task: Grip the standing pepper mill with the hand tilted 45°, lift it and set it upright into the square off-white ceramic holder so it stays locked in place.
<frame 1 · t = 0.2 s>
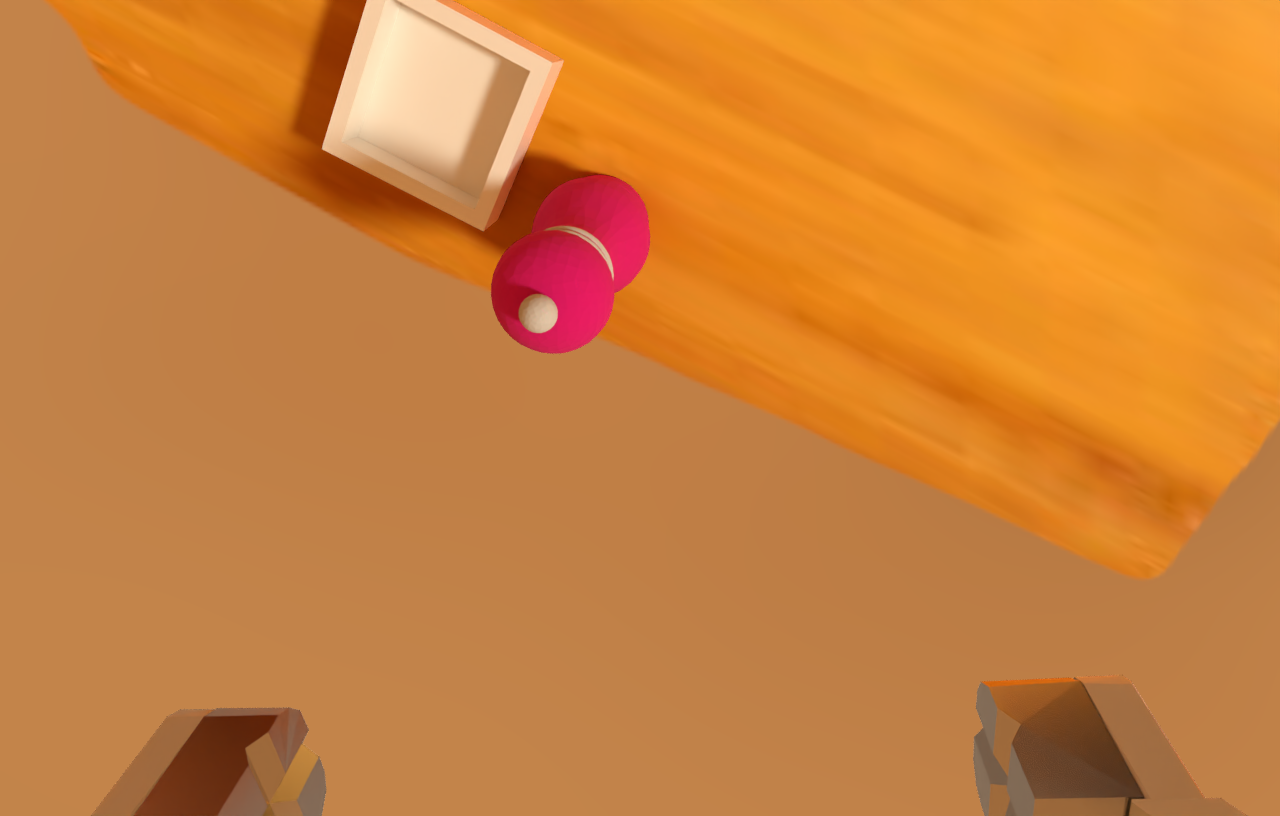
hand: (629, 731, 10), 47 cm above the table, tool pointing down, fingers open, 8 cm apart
pepper mill: (602, 222, 56), on the table
mill holder: (451, 102, 53), on the table
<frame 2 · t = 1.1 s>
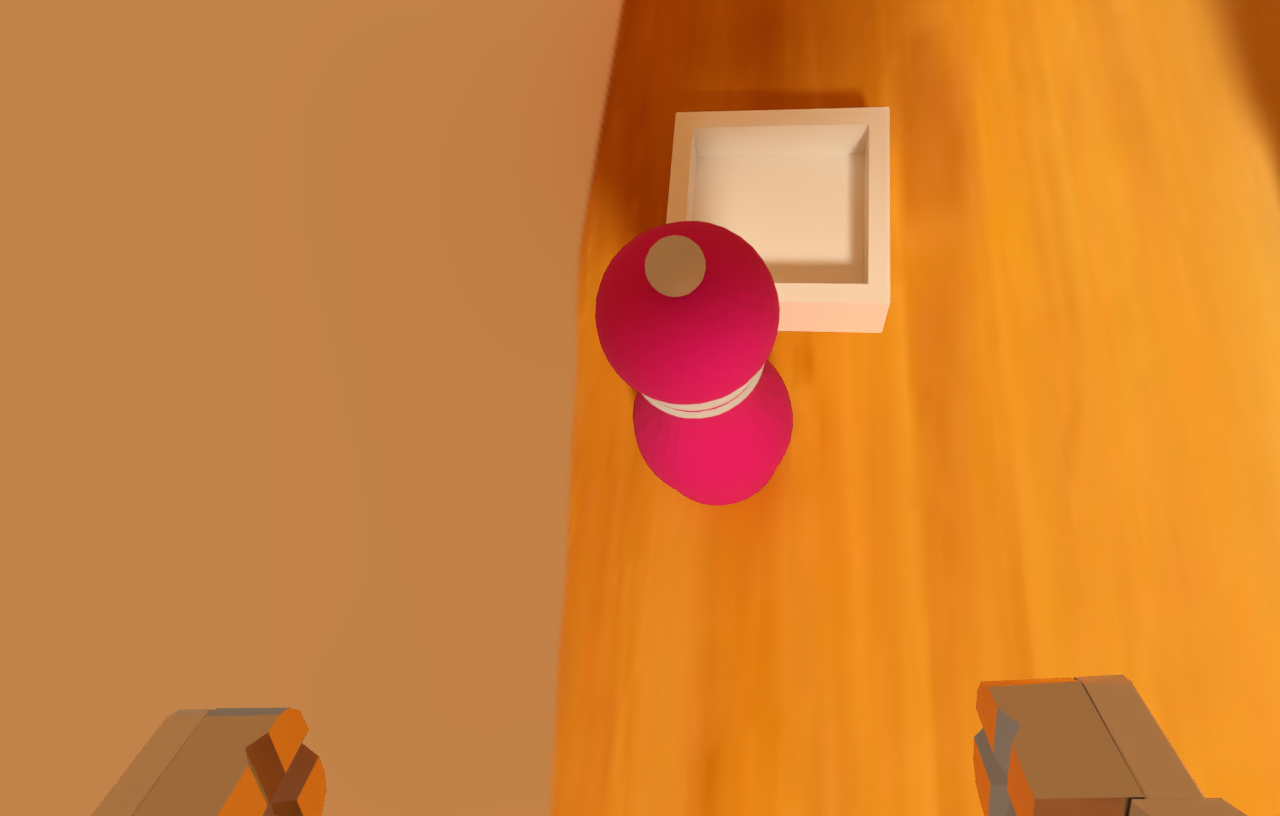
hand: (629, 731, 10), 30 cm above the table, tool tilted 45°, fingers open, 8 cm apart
pepper mill: (718, 446, 43), on the table
mill holder: (776, 237, 46), on the table
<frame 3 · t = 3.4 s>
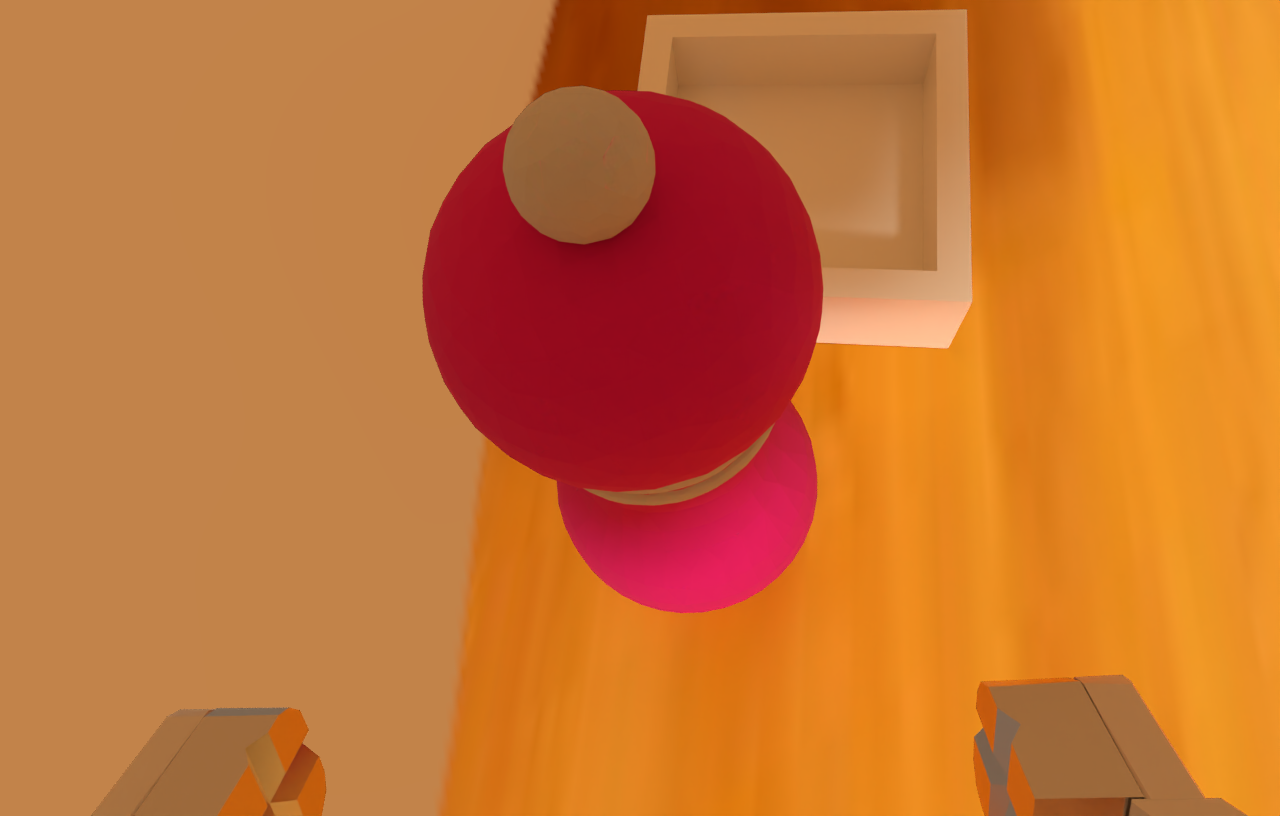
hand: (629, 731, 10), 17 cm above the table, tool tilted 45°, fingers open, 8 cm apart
pepper mill: (698, 514, 28), on the table
mill holder: (790, 203, 31), on the table
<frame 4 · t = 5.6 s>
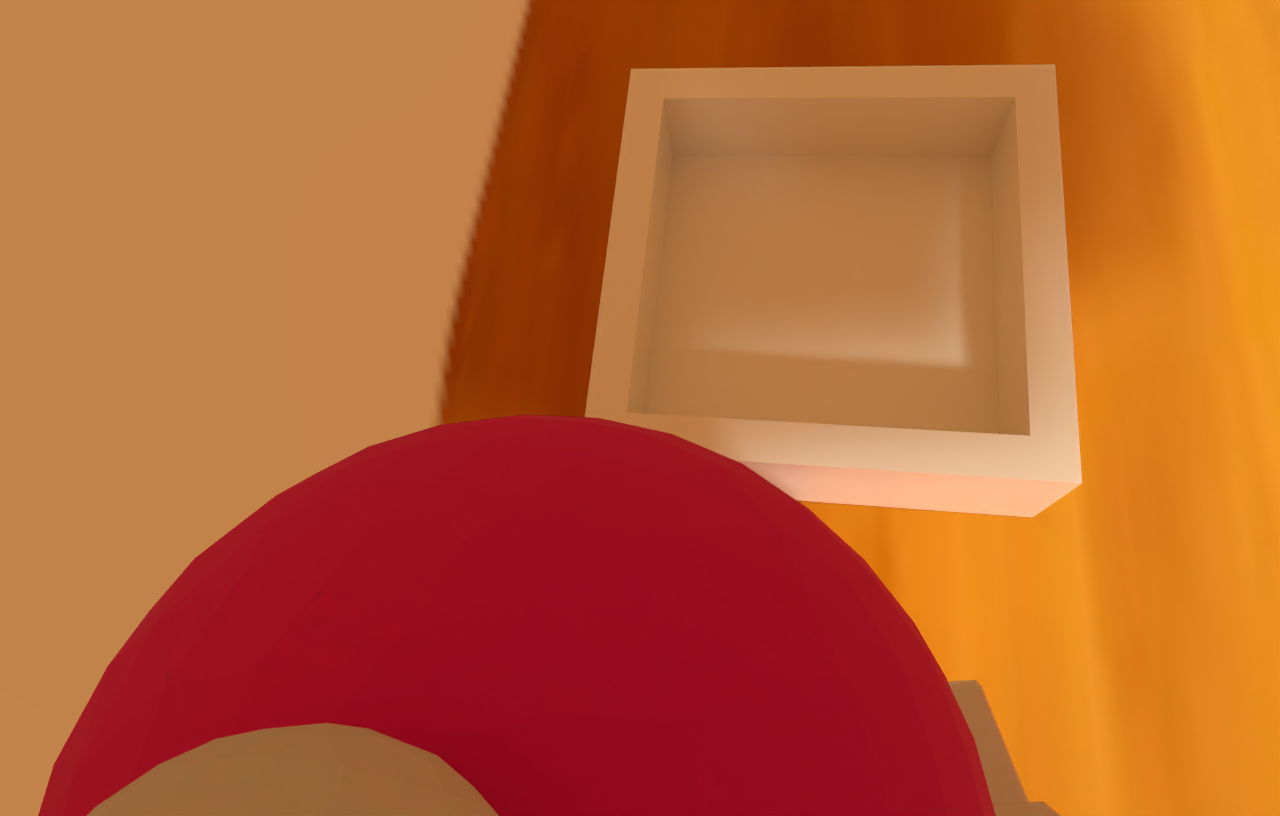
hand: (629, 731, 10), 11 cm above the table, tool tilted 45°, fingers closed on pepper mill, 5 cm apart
pepper mill: (699, 745, 21), on the table, touching gripper
mill holder: (818, 311, 24), on the table
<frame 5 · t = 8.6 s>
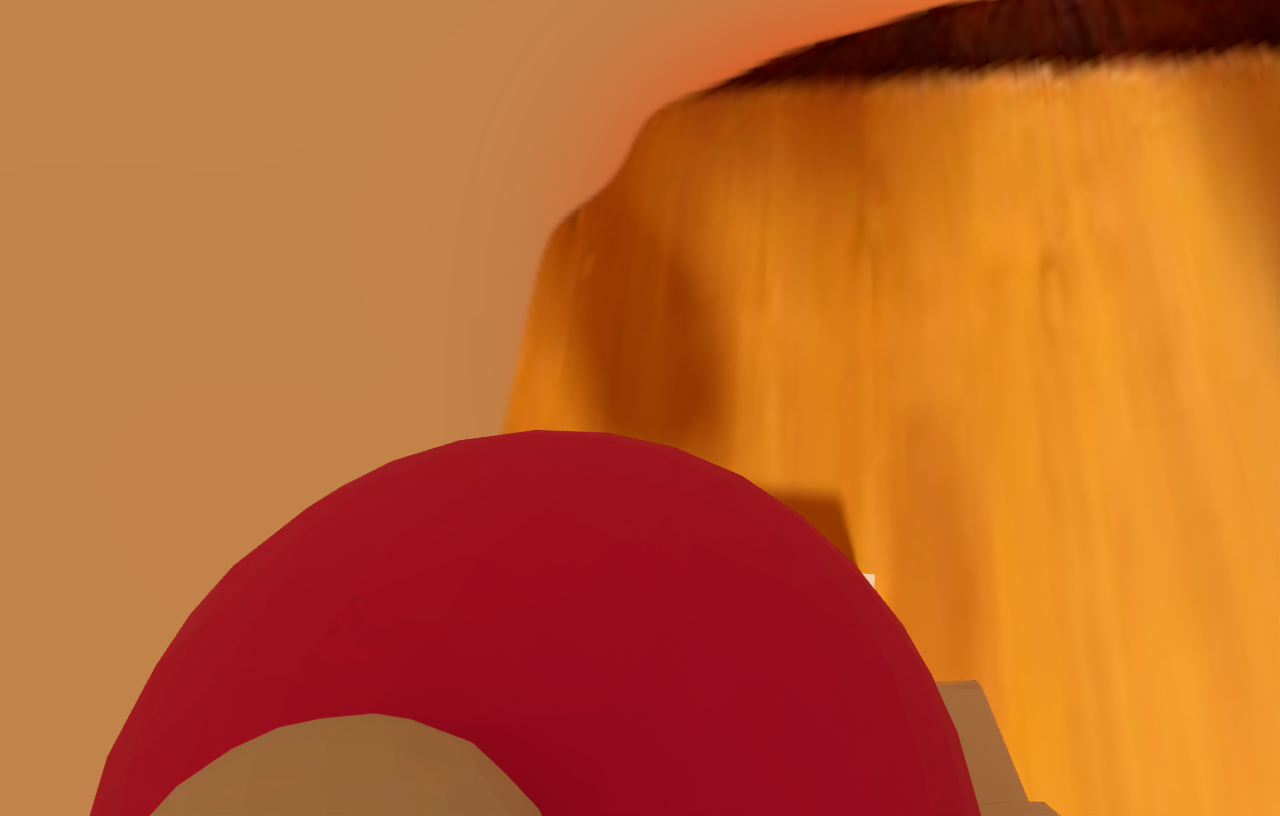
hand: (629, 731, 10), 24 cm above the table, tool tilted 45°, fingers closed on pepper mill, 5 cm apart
pepper mill: (700, 745, 21), point 12 cm above the table, touching gripper
when the fingers open (14 cm above the table, at t = 11.6 s): pepper mill stays where it is, resting on mill holder.
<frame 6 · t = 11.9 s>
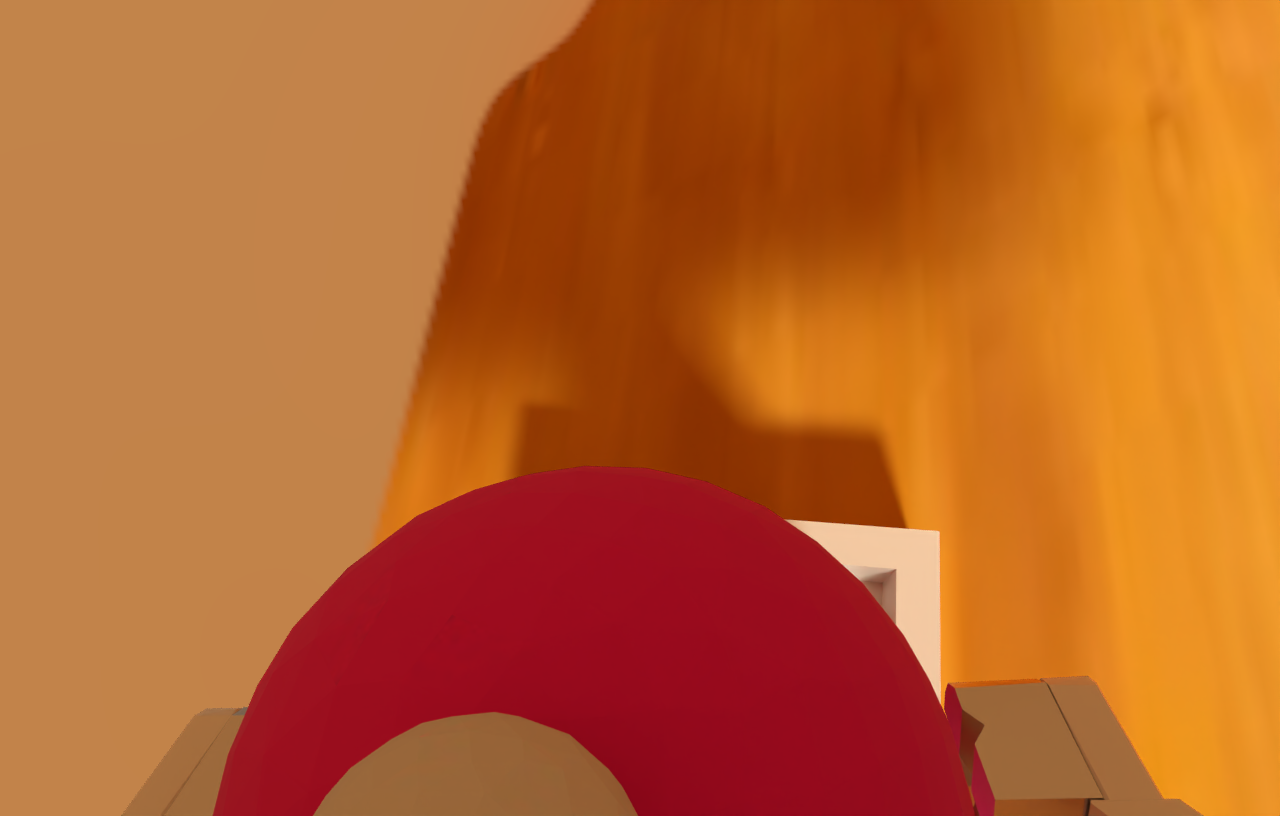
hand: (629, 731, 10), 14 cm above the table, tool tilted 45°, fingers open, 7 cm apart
pepper mill: (709, 743, 22), point 1 cm above the table, touching mill holder
mill holder: (704, 740, 23), on the table
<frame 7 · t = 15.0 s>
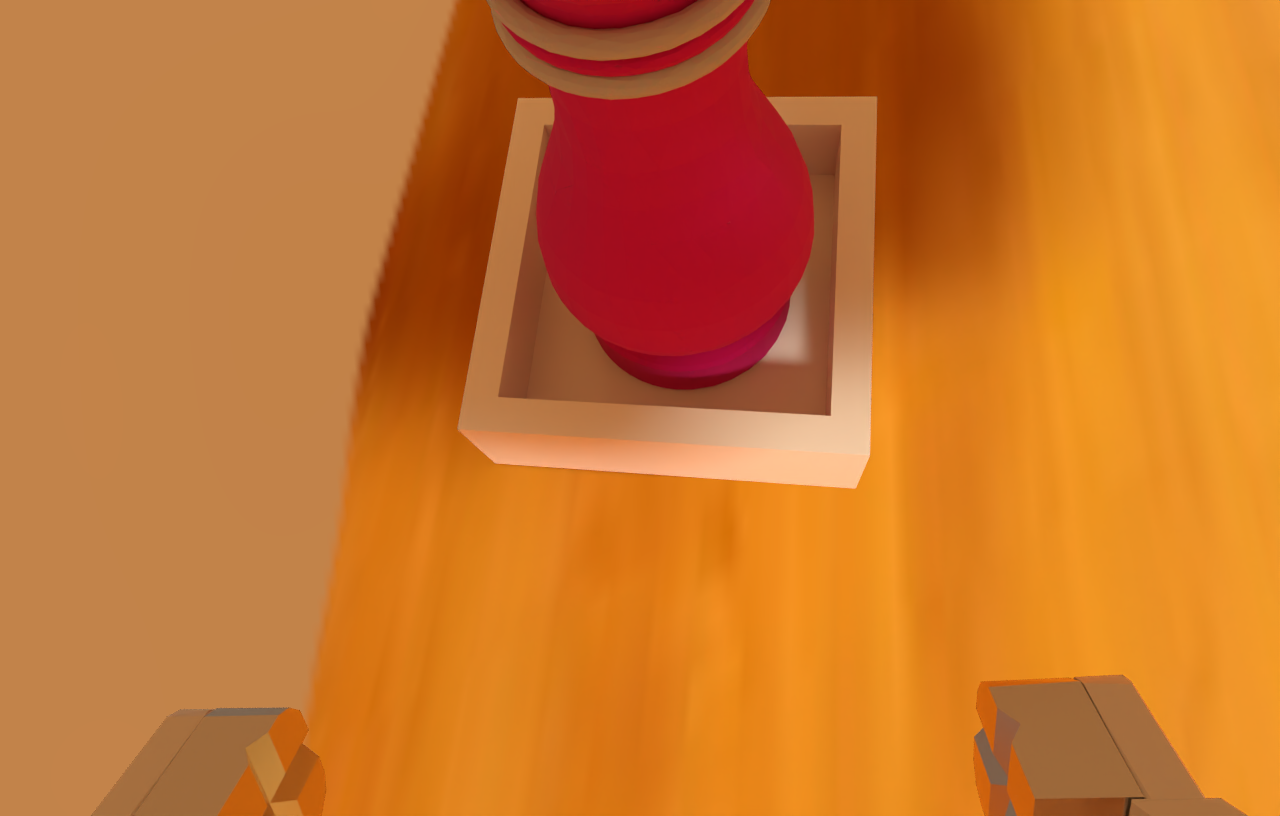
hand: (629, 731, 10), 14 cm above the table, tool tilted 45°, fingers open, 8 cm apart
pepper mill: (688, 300, 26), point 1 cm above the table, touching mill holder
mill holder: (685, 310, 27), on the table
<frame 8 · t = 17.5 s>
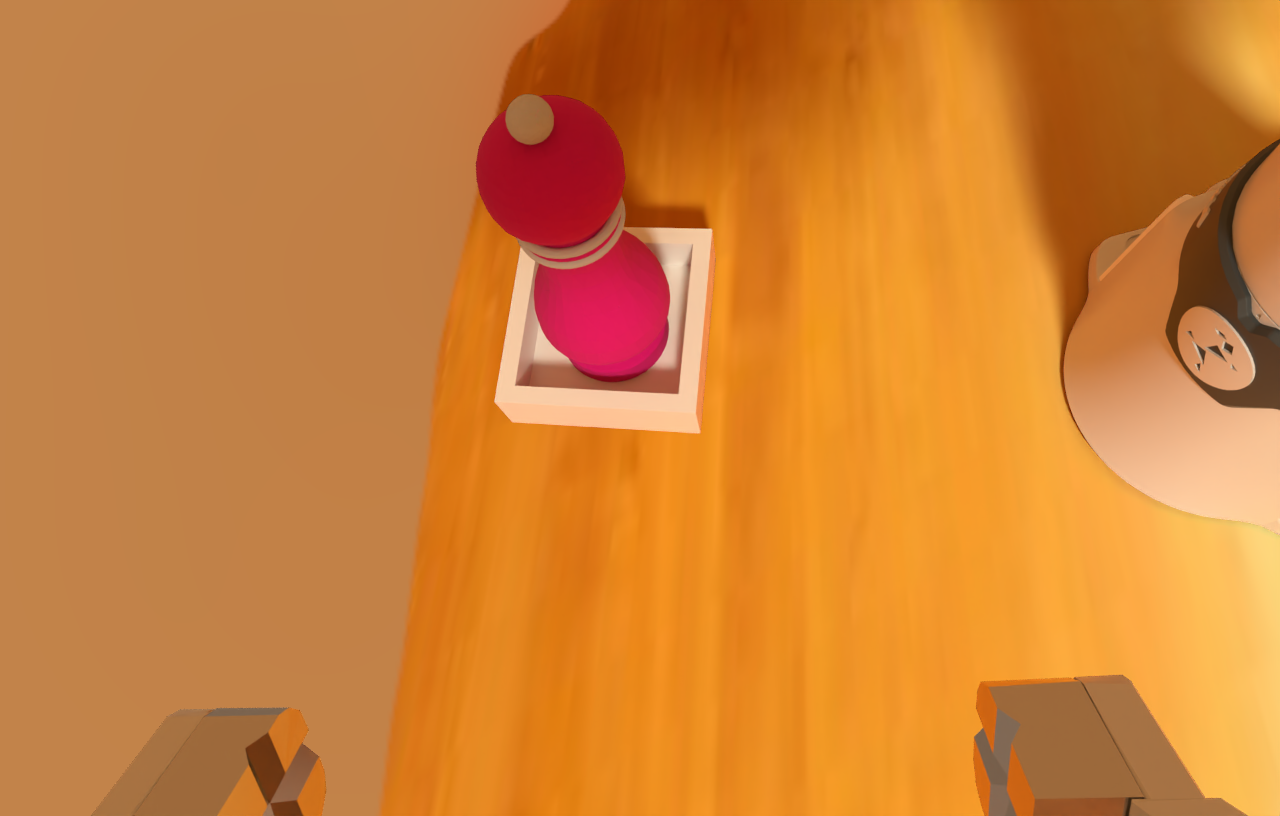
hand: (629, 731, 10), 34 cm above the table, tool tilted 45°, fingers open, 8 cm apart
pepper mill: (616, 334, 49), point 1 cm above the table, touching mill holder
mill holder: (615, 339, 50), on the table
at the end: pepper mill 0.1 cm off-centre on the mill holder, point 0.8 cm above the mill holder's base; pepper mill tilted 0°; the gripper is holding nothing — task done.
